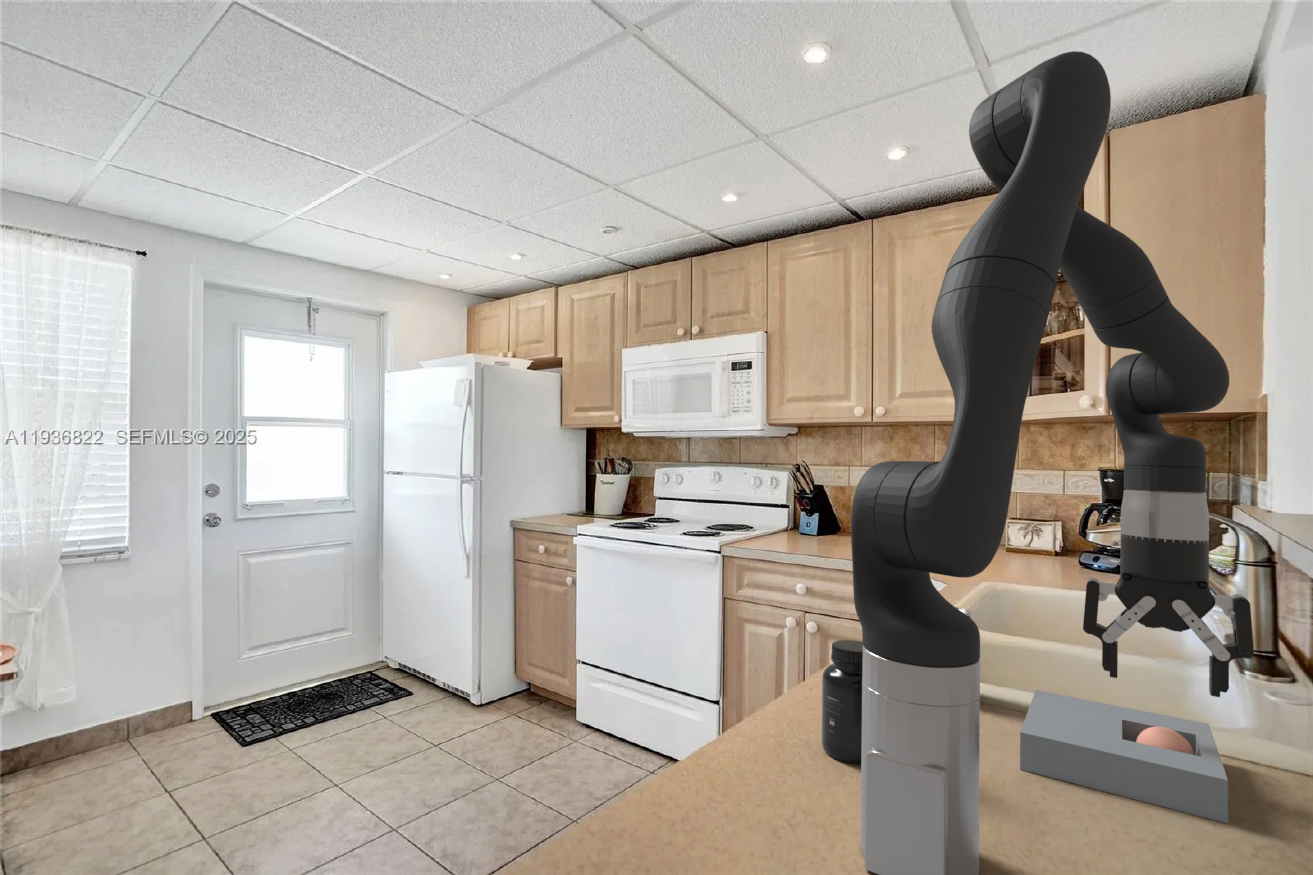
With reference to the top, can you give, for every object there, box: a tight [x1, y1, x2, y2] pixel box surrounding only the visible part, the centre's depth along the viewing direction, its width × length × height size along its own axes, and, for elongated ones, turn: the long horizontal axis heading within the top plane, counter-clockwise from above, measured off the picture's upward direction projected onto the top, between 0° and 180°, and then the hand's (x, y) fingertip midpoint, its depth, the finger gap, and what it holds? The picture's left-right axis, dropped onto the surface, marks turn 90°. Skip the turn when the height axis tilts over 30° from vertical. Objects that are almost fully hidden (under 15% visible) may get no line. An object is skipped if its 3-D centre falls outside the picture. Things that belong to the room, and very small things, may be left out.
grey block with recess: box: [1019, 689, 1229, 824], centre depth 72 cm, size 16×17×4 cm
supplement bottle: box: [821, 639, 863, 765], centre depth 74 cm, size 7×7×12 cm
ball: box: [1136, 727, 1194, 755], centre depth 69 cm, size 5×5×5 cm
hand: (1162, 685), depth 69 cm, fingers open, 8 cm apart
